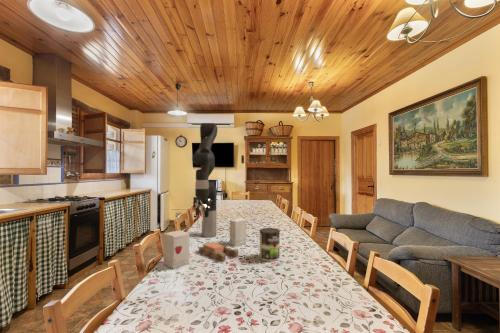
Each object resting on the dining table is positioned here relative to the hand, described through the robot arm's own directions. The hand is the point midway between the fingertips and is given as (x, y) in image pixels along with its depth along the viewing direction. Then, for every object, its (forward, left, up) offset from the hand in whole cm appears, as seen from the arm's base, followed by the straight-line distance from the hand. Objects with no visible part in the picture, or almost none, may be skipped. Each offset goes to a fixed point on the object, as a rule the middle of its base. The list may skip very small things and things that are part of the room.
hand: (202, 216), depth 148 cm
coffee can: (+37, +15, -19) cm, 44 cm away
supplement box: (+11, -23, -19) cm, 31 cm away
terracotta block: (+11, -1, -18) cm, 21 cm away
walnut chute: (+15, -1, -18) cm, 24 cm away
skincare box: (+9, +19, -19) cm, 28 cm away
